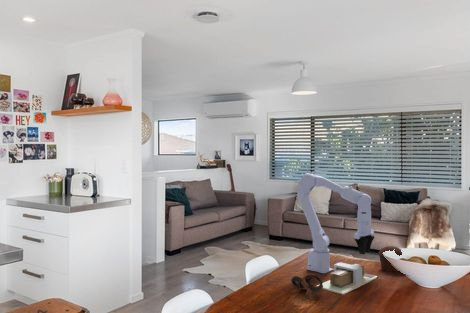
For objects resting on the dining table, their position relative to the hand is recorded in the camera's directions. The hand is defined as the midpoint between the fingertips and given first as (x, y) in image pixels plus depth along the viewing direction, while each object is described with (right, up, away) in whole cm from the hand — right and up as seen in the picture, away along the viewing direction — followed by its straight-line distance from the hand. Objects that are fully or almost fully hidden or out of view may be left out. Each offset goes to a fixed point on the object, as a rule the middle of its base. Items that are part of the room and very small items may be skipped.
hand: (364, 253), depth 171 cm
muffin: (+15, -10, +8) cm, 20 cm away
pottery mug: (-29, -10, -22) cm, 38 cm away
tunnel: (-10, -9, -10) cm, 17 cm away
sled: (-10, -9, -10) cm, 17 cm away
